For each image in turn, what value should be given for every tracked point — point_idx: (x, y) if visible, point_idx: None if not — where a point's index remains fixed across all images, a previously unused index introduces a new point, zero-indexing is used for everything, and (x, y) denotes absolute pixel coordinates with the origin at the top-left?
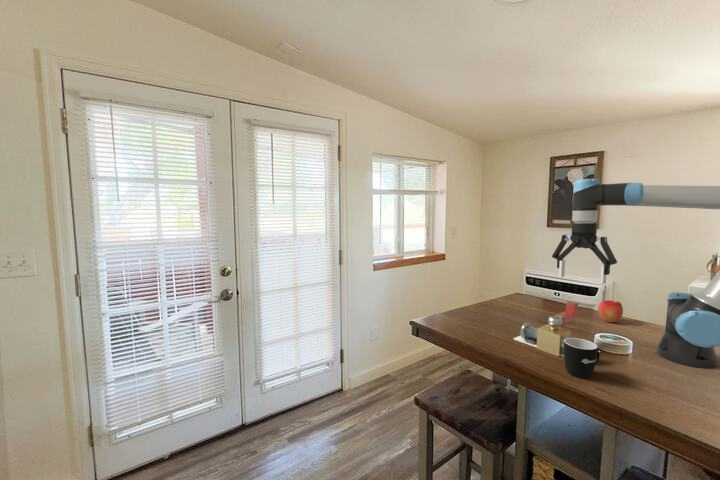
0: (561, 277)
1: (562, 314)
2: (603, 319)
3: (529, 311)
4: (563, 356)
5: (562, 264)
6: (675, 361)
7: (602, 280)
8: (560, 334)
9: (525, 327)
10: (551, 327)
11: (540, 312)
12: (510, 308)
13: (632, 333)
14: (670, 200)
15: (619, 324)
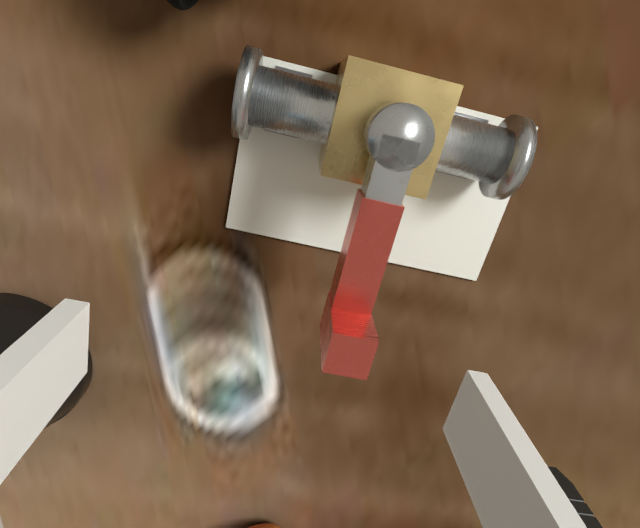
0: (464, 378)
1: (375, 232)
2: (277, 525)
3: None
4: (324, 72)
5: (528, 513)
6: (25, 297)
7: (46, 318)
8: (348, 66)
9: (517, 140)
10: None
11: None
12: (589, 470)
13: (185, 468)
14: None
15: (233, 523)
